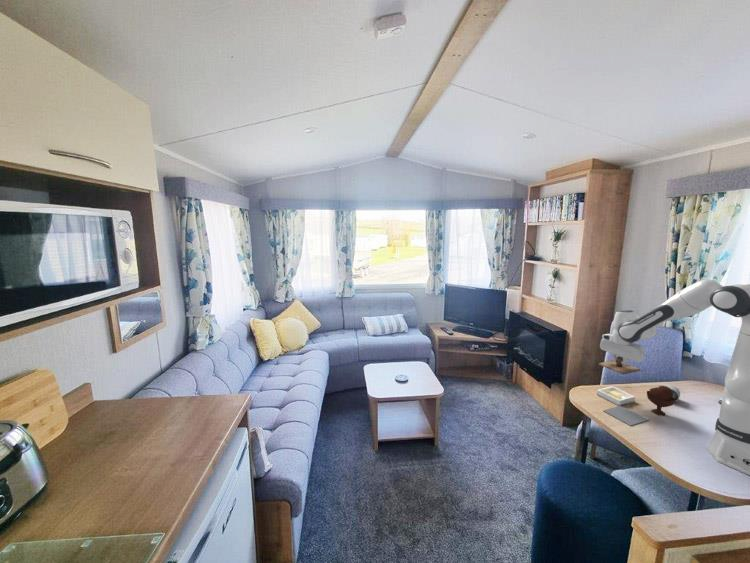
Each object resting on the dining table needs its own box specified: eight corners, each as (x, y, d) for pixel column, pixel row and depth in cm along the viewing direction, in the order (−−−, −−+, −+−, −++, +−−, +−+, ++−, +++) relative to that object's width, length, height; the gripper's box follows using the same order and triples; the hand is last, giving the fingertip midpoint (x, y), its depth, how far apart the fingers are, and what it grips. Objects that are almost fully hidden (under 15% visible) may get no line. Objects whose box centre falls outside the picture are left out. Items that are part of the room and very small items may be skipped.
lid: (640, 370, 163) (641, 360, 162) (623, 374, 159) (624, 364, 158) (615, 361, 175) (616, 351, 174) (598, 364, 171) (599, 354, 170)
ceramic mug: (679, 399, 168) (681, 386, 166) (678, 404, 162) (679, 391, 161) (654, 392, 176) (655, 379, 174) (651, 397, 170) (653, 384, 169)
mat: (648, 420, 150) (648, 419, 150) (630, 426, 146) (630, 425, 146) (620, 406, 162) (620, 405, 162) (603, 411, 159) (603, 410, 158)
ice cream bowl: (660, 406, 161) (664, 380, 158) (679, 419, 150) (683, 391, 148) (639, 406, 162) (642, 380, 160) (655, 419, 151) (659, 391, 149)
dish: (634, 401, 166) (635, 396, 166) (619, 405, 163) (619, 400, 162) (611, 390, 178) (612, 386, 177) (596, 394, 174) (597, 389, 174)
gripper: (648, 344, 156) (645, 370, 158) (607, 332, 175) (604, 355, 177) (639, 346, 154) (636, 372, 156) (599, 334, 173) (597, 357, 175)
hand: (619, 363), depth 167 cm, fingers closed on lid, 3 cm apart
